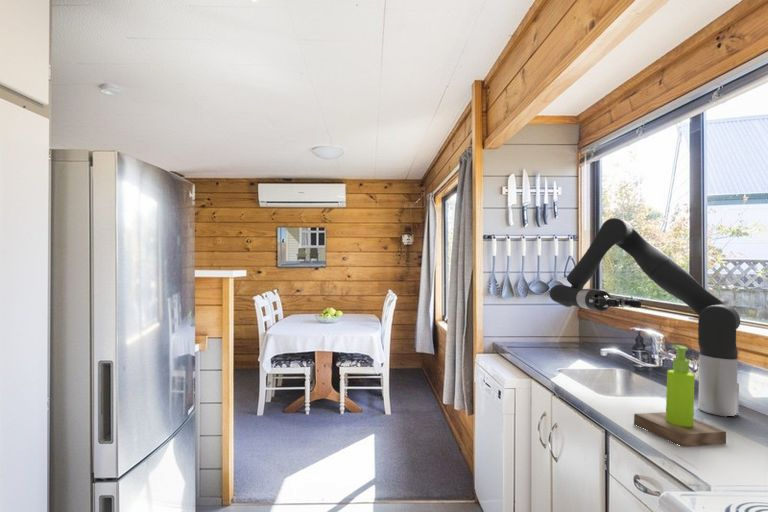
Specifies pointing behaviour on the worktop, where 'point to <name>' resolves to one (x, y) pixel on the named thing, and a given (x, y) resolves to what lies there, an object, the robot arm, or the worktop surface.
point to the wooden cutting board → (680, 430)
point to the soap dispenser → (680, 391)
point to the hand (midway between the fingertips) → (629, 304)
